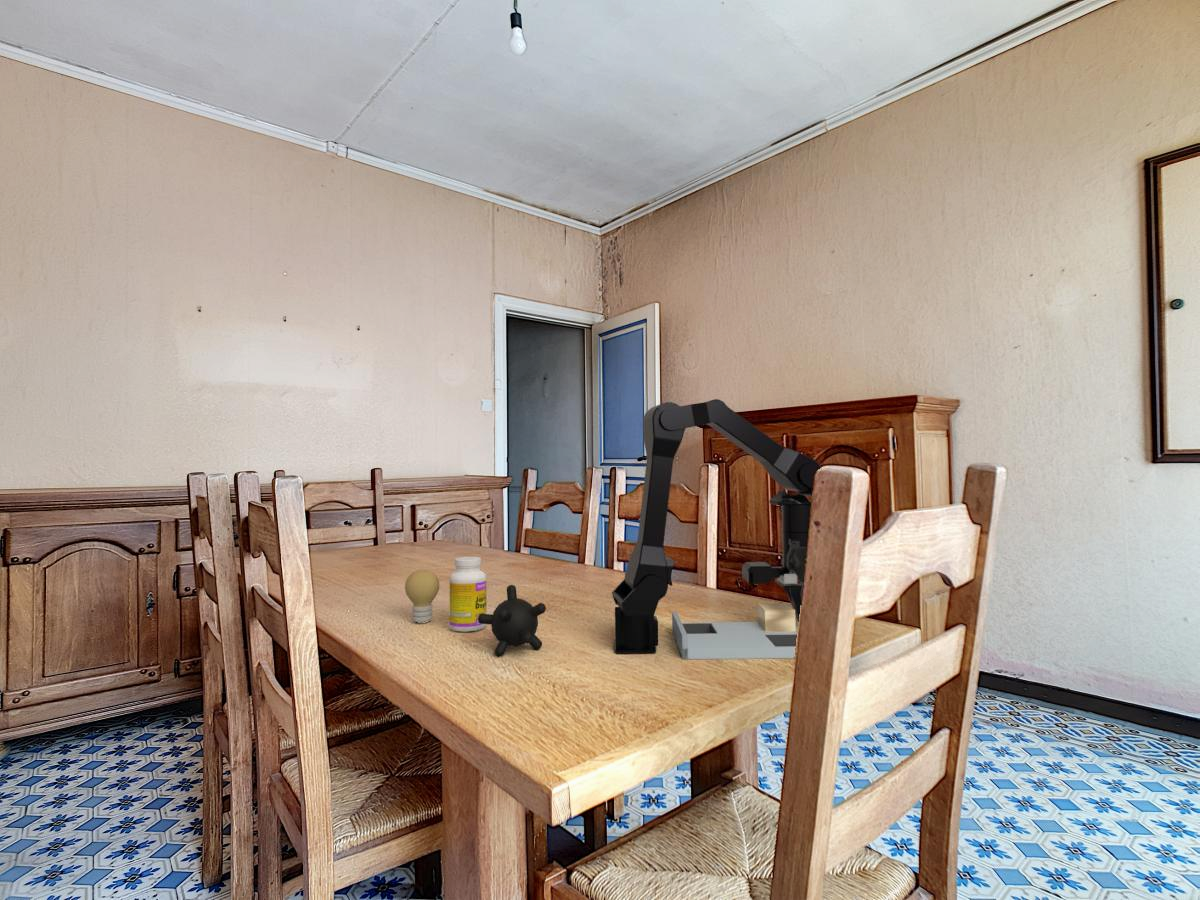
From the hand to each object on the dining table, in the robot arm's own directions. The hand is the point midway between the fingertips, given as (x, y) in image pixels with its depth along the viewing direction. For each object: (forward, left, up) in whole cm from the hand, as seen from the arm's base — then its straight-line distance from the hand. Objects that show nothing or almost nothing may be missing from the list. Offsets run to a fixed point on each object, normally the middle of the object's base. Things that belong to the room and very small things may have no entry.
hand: (801, 623), depth 103 cm
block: (-4, 0, -1) cm, 4 cm away
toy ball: (-47, -5, -3) cm, 48 cm away
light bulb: (-68, +13, -3) cm, 70 cm away
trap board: (-10, -4, -2) cm, 11 cm away
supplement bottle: (-58, +8, -3) cm, 59 cm away
